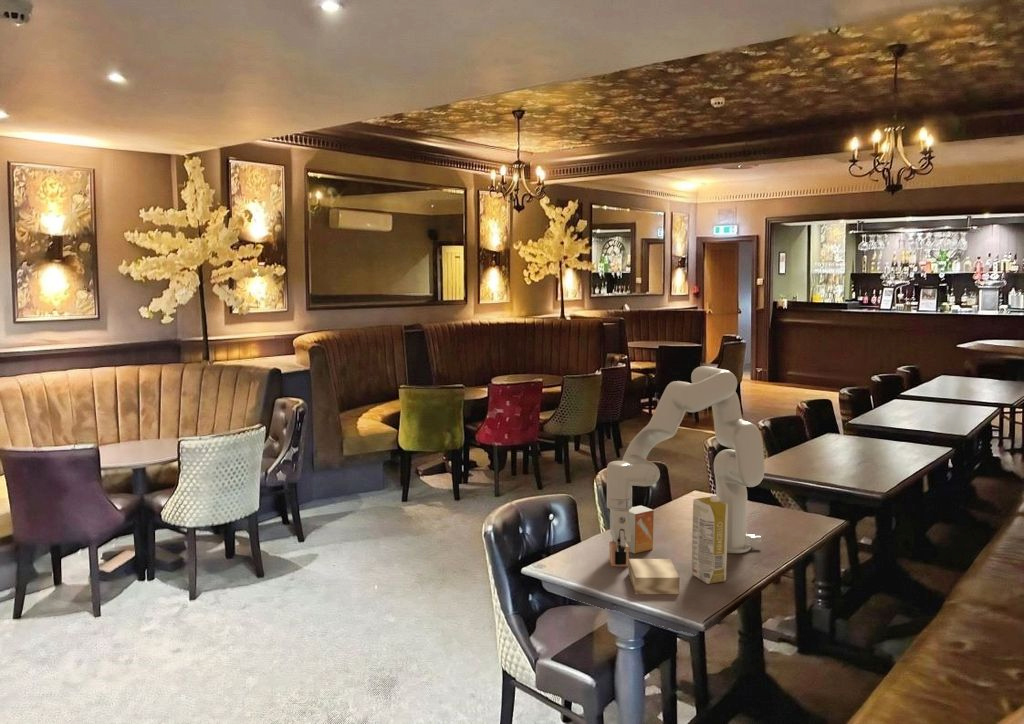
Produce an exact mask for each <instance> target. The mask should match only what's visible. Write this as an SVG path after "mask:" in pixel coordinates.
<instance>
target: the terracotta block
mask: <svg viewBox="0 0 1024 724" xmlns="http://www.w3.org/2000/svg"><path fill="white" fill-rule="evenodd" d="M619 545H620V544H618V546H619ZM615 551H616V542H615V541H613V542H612V541H609V558H608V560H610V561H609V562H610V566H611V567H612V566H616V567H629V559H630V558H629V557H630V556H629V553H630V552H629V546H628V545H627V543H626V564H625V565H616V564H615Z"/></svg>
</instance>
